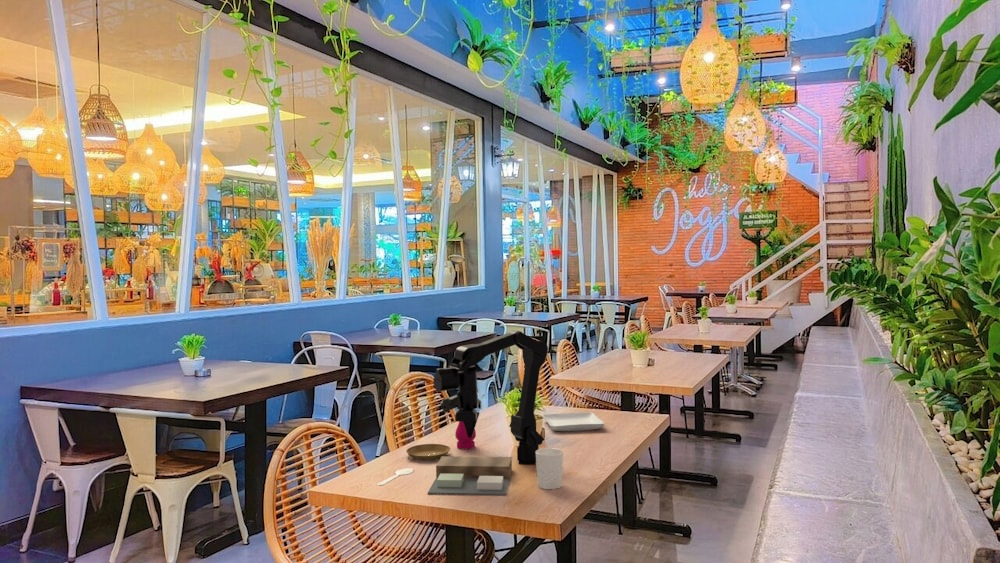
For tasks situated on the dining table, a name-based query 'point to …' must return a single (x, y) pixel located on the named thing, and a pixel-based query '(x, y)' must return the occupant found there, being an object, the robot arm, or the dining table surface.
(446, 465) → the deck
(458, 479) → the tile sage
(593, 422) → the salad plate
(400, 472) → the spoon
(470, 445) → the pepper mill
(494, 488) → the tile cream
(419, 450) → the plant saucer
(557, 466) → the white cup
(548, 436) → the dining table surface
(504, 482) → the mat
